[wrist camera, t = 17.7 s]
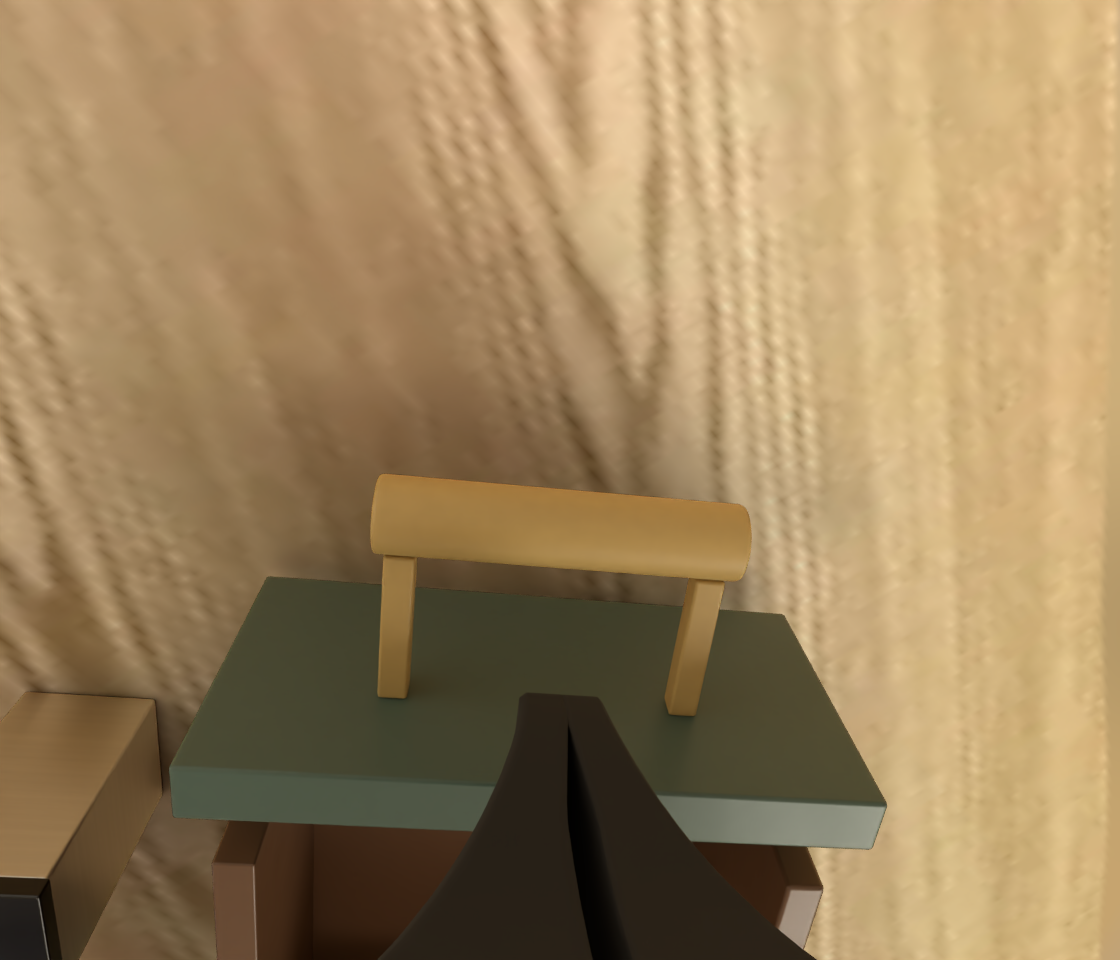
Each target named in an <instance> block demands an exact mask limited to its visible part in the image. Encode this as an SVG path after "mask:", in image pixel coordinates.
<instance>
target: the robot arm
mask: <svg viewBox="0 0 1120 960" xmlns="http://www.w3.org/2000/svg"><path fill="white" fill-rule="evenodd" d="M377 960H817V959H815V958H814V957H812V956H811V955H810V954H808V953H807V952H806V951H804V950H803V949H802V948H801V947H799V946H798V945H797V944H796V943H795V942H793V941H792V940H791V939H790V938H788V937H787V936H786V935H785V934H784V933H782V932H781V931H780V930H779V929H777V928H776V927H775V926H774V925H773V924H772V923H770V922H769V921H768V920H767V919H766V918H765V917H764V916H762V915H761V914H760V913H759V912H758V911H757V910H756V909H755V908H754V907H753V906H752V905H751V904H750V903H749V902H748V901H747V900H746V899H744V898H743V897H742V896H741V895H740V894H739V893H738V892H737V891H736V890H735V889H734V888H733V887H732V886H731V885H730V884H729V883H728V882H727V881H726V880H725V879H724V878H723V877H722V876H721V875H720V874H719V873H718V872H717V871H716V870H715V868H714V867H713V866H712V865H711V864H710V863H709V862H708V861H707V859H706V858H705V857H704V856H703V855H702V854H701V853H700V851H699V850H698V849H697V848H696V847H695V846H694V844H693V843H692V842H691V841H690V839H689V838H688V837H687V836H686V834H685V833H684V832H683V831H682V829H681V828H680V827H679V826H678V824H677V823H676V822H675V820H674V819H673V817H672V816H671V815H670V813H669V812H668V811H667V809H666V808H665V807H664V805H663V804H662V802H661V801H660V800H659V798H658V797H657V795H656V794H655V792H654V791H653V789H652V788H651V786H650V785H649V783H648V782H647V780H646V779H645V777H644V775H643V774H642V772H641V771H640V769H639V768H638V766H637V765H636V763H635V761H634V760H633V758H632V756H631V755H630V753H629V751H628V750H627V748H626V746H625V744H624V743H623V741H622V739H621V737H620V736H619V734H618V732H617V730H616V728H615V726H614V725H613V723H612V721H611V719H610V717H609V715H608V713H607V711H606V709H605V707H604V705H603V703H602V702H601V700H600V699H599V698H598V697H593V696H577V695H561V694H546V693H530V692H526V693H525V694H524V695H522V696H521V697H519V704H518V712H517V720H516V728H515V734H514V737H513V741H512V744H511V747H510V750H509V753H508V755H507V758H506V761H505V764H504V766H503V769H502V772H501V774H500V777H499V779H498V781H497V784H496V786H495V788H494V790H493V792H492V794H491V797H490V799H489V801H488V803H487V805H486V807H485V809H484V811H483V813H482V815H481V817H480V819H479V821H478V823H477V825H476V827H475V828H474V830H473V832H472V834H471V836H470V837H469V839H468V841H467V842H466V844H465V846H464V848H463V849H462V851H461V853H460V854H459V856H458V857H457V859H456V860H455V862H454V863H453V865H452V866H451V868H450V869H449V871H448V873H447V874H446V876H445V877H444V879H443V880H442V882H441V883H440V884H439V886H438V887H437V889H436V890H435V891H434V893H433V894H432V896H431V897H430V898H429V899H428V901H427V902H426V903H425V904H424V906H423V907H422V908H421V910H420V911H419V912H418V913H417V915H416V916H415V917H414V918H413V920H412V921H411V922H410V923H409V925H408V926H407V927H406V928H405V930H404V931H403V932H402V933H401V934H400V936H399V937H398V938H397V939H396V940H395V941H394V942H393V944H392V945H391V946H390V947H389V948H388V949H387V950H386V951H385V952H384V953H383V954H382V955H381V956H380V957H379V958H378V959H377Z"/></svg>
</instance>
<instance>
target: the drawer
mask: <svg viewBox="0 0 1120 960" xmlns="http://www.w3.org/2000/svg"><path fill="white" fill-rule="evenodd" d="M751 539H752V535H751V523H750V518H749V514H748V512H747V510H746V508H745V507H743V506H742V505H739V504H729V503H718V502H706V501H695V500H683V499H672V498H660V497H648V496H637V495H625V494H614V493H602V492H591V491H579V490H567V489H556V488H544V487H533V486H521V485H510V484H498V483H487V482H475V481H463V480H452V479H440V478H429V477H417V476H406V475H394V474H382V475H380V476H379V478H378V480H377V482H376V486H375V491H374V497H373V504H372V513H371V528H370V542H371V548H372V551H373V552H374V553H376V554H383V555H384V558H383V574H382V585H380V584H366V583H353V582H339V581H325V580H312V579H298V578H285V577H271V576H270V577H267V578H266V580H265V582H264V584H263V586H262V588H261V590H260V592H259V594H258V596H257V598H256V599H255V601H254V603H253V605H252V607H251V609H250V611H249V613H248V615H247V617H246V619H245V621H244V623H243V625H242V627H241V629H240V631H239V633H238V634H237V636H236V638H235V640H234V642H233V644H232V646H231V648H230V650H229V652H228V654H227V656H226V658H225V660H224V662H223V664H222V666H221V668H220V669H219V671H218V673H217V675H216V677H215V679H214V681H213V683H212V685H211V687H210V689H209V691H208V693H207V695H206V697H205V699H204V701H203V703H202V704H201V706H200V708H199V710H198V712H197V714H196V716H195V718H194V720H193V722H192V724H191V726H190V728H189V730H188V732H187V734H186V736H185V738H184V739H183V741H182V743H181V745H180V747H179V749H178V751H177V753H176V755H175V757H174V759H173V761H172V763H171V765H170V767H169V775H170V788H171V801H172V814H173V817H175V818H190V819H212V820H229V821H228V824H227V826H226V829H225V831H224V834H223V836H222V839H221V841H220V844H219V846H218V849H217V852H216V854H215V857H214V859H213V862H212V875H213V893H214V911H215V929H216V947H217V960H377V959H378V958H379V957H380V956H381V955H382V954H383V953H384V952H385V951H386V950H387V949H388V948H389V947H390V946H391V945H392V944H393V942H394V941H395V940H396V939H397V938H398V937H399V936H400V934H401V933H402V932H403V931H404V930H405V928H406V927H407V926H408V925H409V923H410V922H411V921H412V920H413V918H414V917H415V916H416V915H417V913H418V912H419V911H420V910H421V908H422V907H423V906H424V904H425V903H426V902H427V901H428V899H429V898H430V897H431V896H432V894H433V893H434V891H435V890H436V889H437V887H438V886H439V884H440V883H441V882H442V880H443V879H444V877H445V876H446V874H447V873H448V871H449V869H450V868H451V866H452V865H453V863H454V862H455V860H456V859H457V857H458V856H459V854H460V853H461V851H462V849H463V848H464V846H465V844H466V842H467V841H468V839H469V837H470V836H471V834H472V832H473V830H474V828H475V827H476V825H477V823H478V821H479V819H480V817H481V815H482V813H483V811H484V809H485V807H486V805H487V803H488V801H489V799H490V797H491V794H492V792H493V790H494V788H495V786H496V784H497V781H498V779H499V777H500V774H501V772H502V769H503V766H504V764H505V761H506V758H507V755H508V753H509V750H510V747H511V744H512V741H513V737H514V734H515V728H516V720H517V712H518V704H519V697H521V696H522V695H524V694H525V693H526V692H530V693H546V694H561V695H577V696H593V697H598V698H599V699H600V700H601V702H602V703H603V705H604V707H605V709H606V711H607V713H608V715H609V717H610V719H611V721H612V723H613V725H614V726H615V728H616V730H617V732H618V734H619V736H620V737H621V739H622V741H623V743H624V744H625V746H626V748H627V750H628V751H629V753H630V755H631V756H632V758H633V760H634V761H635V763H636V765H637V766H638V768H639V769H640V771H641V772H642V774H643V775H644V777H645V779H646V780H647V782H648V783H649V785H650V786H651V788H652V789H653V791H654V792H655V794H656V795H657V797H658V798H659V800H660V801H661V802H662V804H663V805H664V807H665V808H666V809H667V811H668V812H669V813H670V815H671V816H672V817H673V819H674V820H675V822H676V823H677V824H678V826H679V827H680V828H681V829H682V831H683V832H684V833H685V834H686V836H687V837H688V838H689V839H690V841H691V842H692V843H693V844H694V846H695V847H696V848H697V849H698V850H699V851H700V853H701V854H702V855H703V856H704V857H705V858H706V859H707V861H708V862H709V863H710V864H711V865H712V866H713V867H714V868H715V870H716V871H717V872H718V873H719V874H720V875H721V876H722V877H723V878H724V879H725V880H726V881H727V882H728V883H729V884H730V885H731V886H732V887H733V888H734V889H735V890H736V891H737V892H738V893H739V894H740V895H741V896H742V897H743V898H744V899H746V900H747V901H748V902H749V903H750V904H751V905H752V906H753V907H754V908H755V909H756V910H757V911H758V912H759V913H760V914H761V915H762V916H764V917H765V918H766V919H767V920H768V921H769V922H770V923H772V924H773V925H774V926H775V927H776V928H777V929H779V930H780V931H781V932H782V933H784V934H785V935H786V936H787V937H788V938H790V939H791V940H792V941H793V942H795V943H796V944H797V945H798V946H799V947H801V948H802V949H803V950H804V947H805V944H806V941H807V938H808V935H809V932H810V929H811V926H812V923H813V920H814V917H815V914H816V911H817V908H818V905H819V902H820V899H821V896H822V893H823V885H822V883H821V880H820V878H819V875H818V873H817V870H816V868H815V865H814V863H813V861H812V858H811V856H810V853H809V851H808V848H807V847H821V848H843V849H865V850H869V849H872V848H873V845H874V842H875V839H876V836H877V834H878V831H879V828H880V825H881V822H882V819H883V817H884V814H885V811H886V808H887V804H886V801H885V799H884V797H883V795H882V794H881V792H880V790H879V788H878V786H877V784H876V783H875V781H874V779H873V777H872V775H871V773H870V772H869V770H868V768H867V766H866V764H865V762H864V761H863V759H862V757H861V755H860V753H859V751H858V750H857V748H856V746H855V744H854V742H853V740H852V739H851V737H850V735H849V733H848V731H847V729H846V728H845V726H844V724H843V722H842V720H841V718H840V717H839V715H838V713H837V711H836V709H835V708H834V706H833V704H832V702H831V700H830V698H829V697H828V695H827V693H826V691H825V689H824V687H823V686H822V684H821V682H820V680H819V678H818V676H817V675H816V673H815V671H814V669H813V667H812V665H811V664H810V662H809V660H808V658H807V656H806V654H805V653H804V651H803V649H802V647H801V645H800V643H799V642H798V640H797V638H796V636H795V634H794V632H793V631H792V629H791V627H790V625H789V623H788V621H787V620H786V618H785V616H784V615H782V614H773V613H759V612H746V611H732V610H719V609H720V604H721V600H722V595H723V591H724V586H725V584H724V581H733V582H734V581H737V580H739V579H741V578H742V576H743V575H744V573H745V571H746V568H747V565H748V561H749V557H750V552H751ZM417 557H422V558H435V559H448V560H461V561H474V562H487V563H500V564H513V565H526V566H539V567H552V568H564V569H577V570H590V571H603V572H616V573H629V574H642V575H655V576H668V577H681V578H689V580H688V585H687V590H686V595H685V600H684V604H683V607H678V606H664V605H651V604H637V603H624V602H610V601H597V600H583V599H569V598H556V597H542V596H529V595H515V594H502V593H488V592H475V591H461V590H447V589H434V588H420V587H415V586H416V570H417Z"/></svg>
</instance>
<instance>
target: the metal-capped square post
mask: <svg viewBox="0 0 1120 960" xmlns="http://www.w3.org/2000/svg"><path fill="white" fill-rule="evenodd" d="M162 794H163V793H162V781H161V769H160V757H159V744H158V732H157V720H156V708H155V701H154V700H153V699H139V698H123V697H106V696H90V695H73V694H56V693H40V692H26V693H24V694H23V695H22V697H21V698H20V699H19V700H18V701H17V703H16V704H15V705H14V706H13V707H12V709H11V710H10V711H9V712H8V713H7V715H6V716H5V717H4V718H3V719H2V721H1V722H0V960H79V958H80V956H81V954H82V952H83V950H84V948H85V946H86V944H87V942H88V940H89V938H90V936H91V934H92V932H93V930H94V928H95V926H96V924H97V922H98V920H99V918H100V916H101V914H102V912H103V910H104V909H105V907H106V905H107V903H108V901H109V899H110V897H111V895H112V893H113V891H114V889H115V887H116V885H117V883H118V881H119V879H120V877H121V875H122V873H123V871H124V869H125V867H126V865H127V863H128V861H129V859H130V857H131V855H132V853H133V851H134V849H135V847H136V845H137V843H138V841H139V839H140V837H141V835H142V833H143V831H144V830H145V828H146V826H147V824H148V822H149V820H150V818H151V816H152V814H153V812H154V810H155V808H156V806H157V804H158V802H159V800H160V798H161V796H162Z"/></svg>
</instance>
